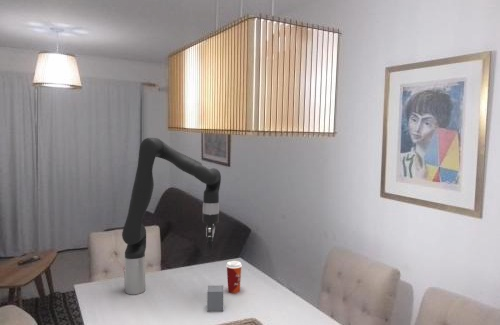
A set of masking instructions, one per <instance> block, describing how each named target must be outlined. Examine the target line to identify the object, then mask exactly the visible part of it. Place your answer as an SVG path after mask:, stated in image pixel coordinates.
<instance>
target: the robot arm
mask: <svg viewBox="0 0 500 325" xmlns="http://www.w3.org/2000/svg"><path fill="white" fill-rule="evenodd" d="M156 158H159V159H163V160H165V161H167V162H169V163H171V164H172V165H174V166H175V167H176V168H177V169H179V170H181V171H182V172H184V173H187V174H189V175H190V176H192V177H195V179H197V180H199V181H200V183H202V184H205V189H204V191H203V196H202V197H203V200H202V201H203V203H202V223H204V224H206V227H205V231H206V232H205V236H206V249H207V250H208V251H210V250H212V249H213V244H214V236H215V230H216V225H215V224H218V223H219V220H220V205H219V204H220V201H219V200H220V195H219V194H220V190H221V183H222V175H221V172H220V171H219V169H217V168H213V167H212V168H209V167H206V166H204V165H203V164H202V163H201V162H200V161H198V160H196V159H195V158H192V157H190V156H188V155H186V154H184V153H181V152H180V151H177V150H176V149H175V148H173V147H171V146H170V145H168V144H167V143H166V142H164V141H162V140H161V139H160V138H158V137H146V138H144V139H142V141H141V143H140V144H139V152H138V160H137V167H136V168H137V169H136V173H135V177H134V181H133V186H132V191H131V195H130V201H129V207H128V210H127V211H128V212H127V216H126V219H125V222H124V226H123V228H122V232H121V238H122V241H123V242H124V243H125V244H126V249H125V251H124V271H123V274H124V275H123V278H124V280H123V281H124V282H123V283H124V288H123V290H124V291H125V293H126V294H128V295H138V294H143V293H144V292H145V291H146V256H145V254H146V253H145V252H146V248H147V230H146V227H145V225H144V224H143V219H144V216H145V213H146V212H147V209H148V207H149V206H150V203H151V199H152V196H153V192H154V186H155V185H154V176H153V174H154V173H153V168H154V163H155V159H156Z"/></svg>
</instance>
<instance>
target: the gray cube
mask: <svg viewBox="0 0 500 325" xmlns="http://www.w3.org/2000/svg"><path fill="white" fill-rule="evenodd" d="M206 291H207V292H206V293H207V296H206V297H207V300H206V302H207V303H206V304H207V306H206V307H207V309H206V310H207V313H213V312H217V313H218V312H224V285H221V284H219V285H207V289H206Z"/></svg>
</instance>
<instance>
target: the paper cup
mask: <svg viewBox="0 0 500 325" xmlns="http://www.w3.org/2000/svg"><path fill="white" fill-rule="evenodd" d="M225 266H226V272H227V273H226V275H227V276H226V277H227V278H226V279H227V289H228V290H227V291H228V293H230V294H238V293H240V292H241V281H242V267H243V265H242V263H241V262H240V261H238V260H230V261H228V262H227V263H226V265H225Z"/></svg>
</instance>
